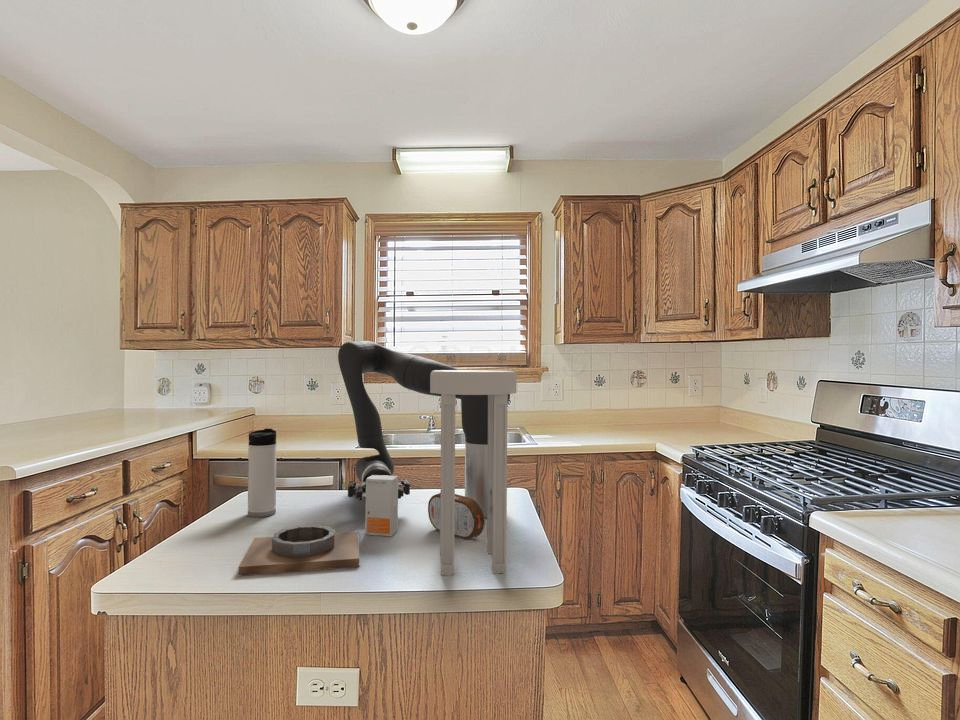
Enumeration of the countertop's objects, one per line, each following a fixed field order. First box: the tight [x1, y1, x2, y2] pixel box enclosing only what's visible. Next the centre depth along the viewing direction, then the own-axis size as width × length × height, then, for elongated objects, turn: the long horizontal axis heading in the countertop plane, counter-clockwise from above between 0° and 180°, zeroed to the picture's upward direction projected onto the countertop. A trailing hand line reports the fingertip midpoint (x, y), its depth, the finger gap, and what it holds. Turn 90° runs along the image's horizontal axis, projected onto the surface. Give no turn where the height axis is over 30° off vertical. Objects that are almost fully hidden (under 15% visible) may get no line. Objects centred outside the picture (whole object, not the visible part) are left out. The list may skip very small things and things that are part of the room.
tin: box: [427, 492, 486, 540], centre depth 118 cm, size 15×3×8 cm, turn 47°
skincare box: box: [364, 475, 399, 537], centre depth 118 cm, size 6×4×12 cm
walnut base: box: [238, 531, 360, 576], centre depth 104 cm, size 20×16×2 cm
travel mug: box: [247, 427, 277, 518], centre depth 133 cm, size 6×7×20 cm
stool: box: [430, 369, 517, 576], centre depth 101 cm, size 16×16×35 cm
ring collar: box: [272, 524, 336, 558], centre depth 104 cm, size 11×11×2 cm
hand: (380, 495), depth 124 cm, fingers open, 8 cm apart
